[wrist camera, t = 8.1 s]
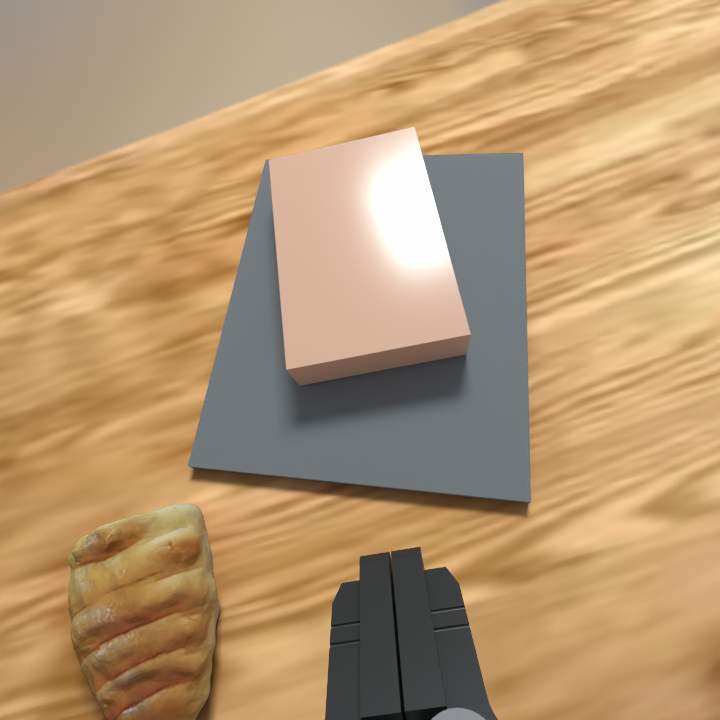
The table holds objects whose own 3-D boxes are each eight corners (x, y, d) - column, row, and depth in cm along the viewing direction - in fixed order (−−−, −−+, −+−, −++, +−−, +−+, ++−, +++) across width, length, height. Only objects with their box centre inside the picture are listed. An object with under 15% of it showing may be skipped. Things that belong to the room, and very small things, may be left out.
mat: (193, 468, 24) (187, 466, 23) (268, 166, 32) (265, 159, 31) (528, 503, 21) (530, 502, 20) (521, 160, 29) (523, 152, 28)
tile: (470, 334, 21) (414, 126, 27) (286, 369, 22) (268, 160, 28) (466, 355, 24) (415, 160, 29) (300, 386, 24) (281, 190, 30)
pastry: (255, 699, 20) (217, 732, 16) (114, 761, 20) (44, 807, 16) (207, 494, 24) (167, 486, 20) (88, 546, 24) (27, 546, 20)
